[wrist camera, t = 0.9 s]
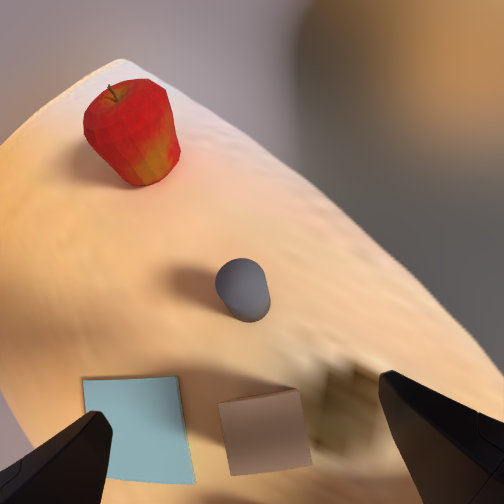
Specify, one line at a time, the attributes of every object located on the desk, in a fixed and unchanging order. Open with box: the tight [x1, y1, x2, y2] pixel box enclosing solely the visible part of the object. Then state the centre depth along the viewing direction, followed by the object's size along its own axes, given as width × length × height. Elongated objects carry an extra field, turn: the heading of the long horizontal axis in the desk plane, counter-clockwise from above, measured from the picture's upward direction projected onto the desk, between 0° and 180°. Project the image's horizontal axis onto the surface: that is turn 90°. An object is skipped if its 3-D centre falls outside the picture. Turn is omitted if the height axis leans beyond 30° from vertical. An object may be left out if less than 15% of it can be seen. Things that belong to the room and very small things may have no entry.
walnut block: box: [218, 389, 312, 476], centre depth 17 cm, size 4×4×6 cm
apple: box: [83, 79, 181, 185], centre depth 26 cm, size 9×8×12 cm
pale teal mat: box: [83, 376, 196, 484], centre depth 20 cm, size 9×9×1 cm
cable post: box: [215, 258, 270, 323], centre depth 21 cm, size 3×3×5 cm
